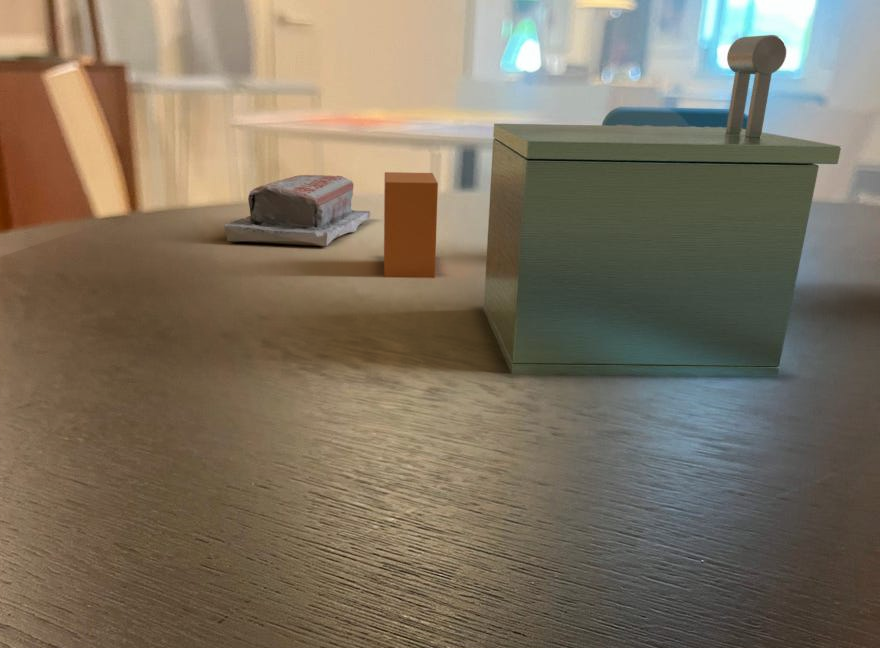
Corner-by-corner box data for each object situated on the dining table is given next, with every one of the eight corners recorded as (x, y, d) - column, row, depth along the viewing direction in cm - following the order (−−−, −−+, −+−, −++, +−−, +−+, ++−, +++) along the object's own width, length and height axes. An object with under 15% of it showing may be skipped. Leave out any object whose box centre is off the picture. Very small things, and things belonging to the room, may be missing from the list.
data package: (589, 264, 88) (605, 107, 82) (588, 256, 92) (603, 106, 86) (731, 270, 87) (758, 111, 81) (724, 261, 90) (749, 109, 85)
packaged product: (279, 170, 108) (371, 173, 106) (280, 219, 110) (370, 223, 108) (220, 186, 92) (327, 191, 91) (223, 243, 95) (328, 249, 93)
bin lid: (735, 141, 65) (751, 39, 62) (838, 164, 50) (865, 32, 48) (493, 137, 65) (498, 34, 62) (526, 158, 50) (535, 26, 47)
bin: (694, 316, 70) (721, 142, 65) (776, 381, 56) (819, 164, 50) (483, 313, 70) (493, 138, 65) (511, 378, 55) (526, 160, 50)
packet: (430, 261, 88) (432, 172, 84) (434, 279, 81) (438, 182, 77) (383, 261, 88) (384, 172, 84) (384, 278, 81) (385, 182, 77)
